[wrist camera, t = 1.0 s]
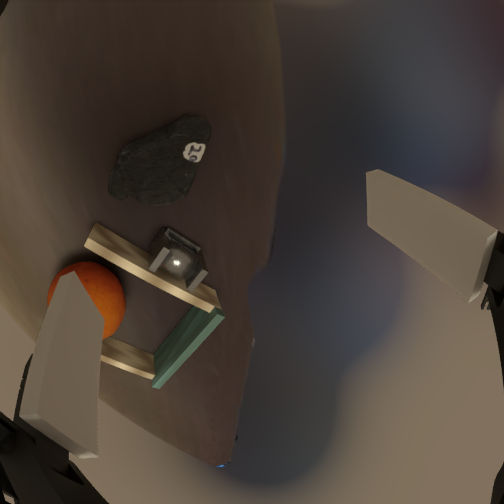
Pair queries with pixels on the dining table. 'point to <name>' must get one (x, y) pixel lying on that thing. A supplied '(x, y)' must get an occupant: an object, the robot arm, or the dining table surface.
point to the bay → (203, 297)
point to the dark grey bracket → (177, 257)
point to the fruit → (98, 292)
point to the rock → (161, 163)
